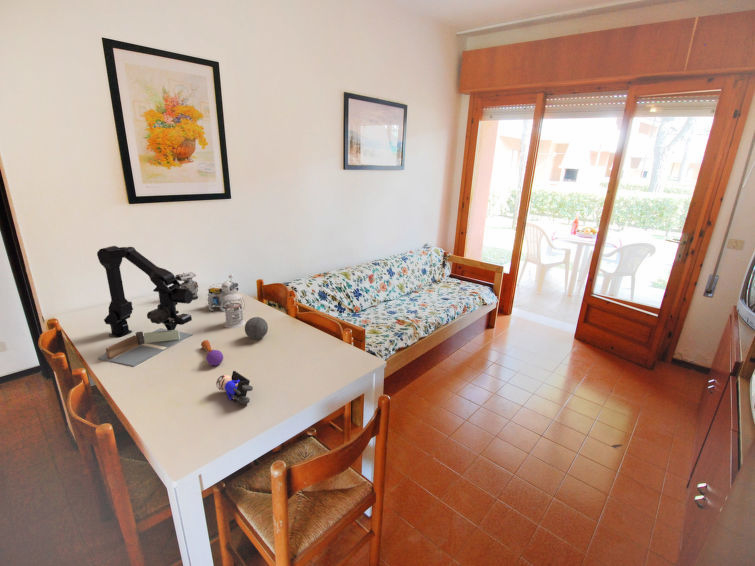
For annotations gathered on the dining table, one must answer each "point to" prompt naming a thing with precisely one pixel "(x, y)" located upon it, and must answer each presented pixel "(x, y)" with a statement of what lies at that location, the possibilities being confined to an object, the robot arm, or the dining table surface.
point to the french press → (236, 320)
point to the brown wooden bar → (125, 345)
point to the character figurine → (235, 386)
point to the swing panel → (161, 336)
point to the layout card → (144, 351)
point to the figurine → (188, 282)
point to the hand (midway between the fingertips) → (171, 334)
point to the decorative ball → (256, 328)
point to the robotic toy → (221, 295)
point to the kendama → (212, 354)
